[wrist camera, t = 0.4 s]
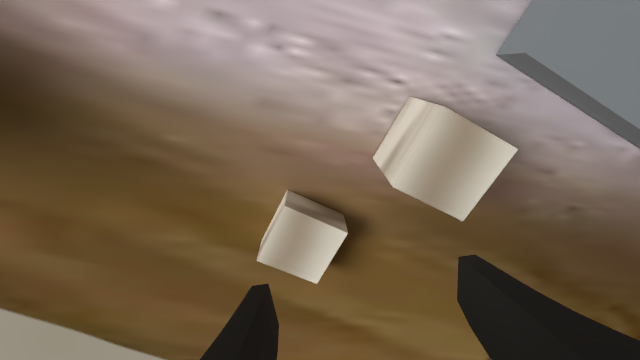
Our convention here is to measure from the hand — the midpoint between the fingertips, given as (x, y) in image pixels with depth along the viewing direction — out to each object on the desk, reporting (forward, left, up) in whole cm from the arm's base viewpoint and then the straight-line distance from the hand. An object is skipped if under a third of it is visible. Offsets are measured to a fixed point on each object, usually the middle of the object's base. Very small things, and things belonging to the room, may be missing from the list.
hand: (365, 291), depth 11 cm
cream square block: (-3, -5, -10) cm, 11 cm away
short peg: (+1, +4, -10) cm, 11 cm away
